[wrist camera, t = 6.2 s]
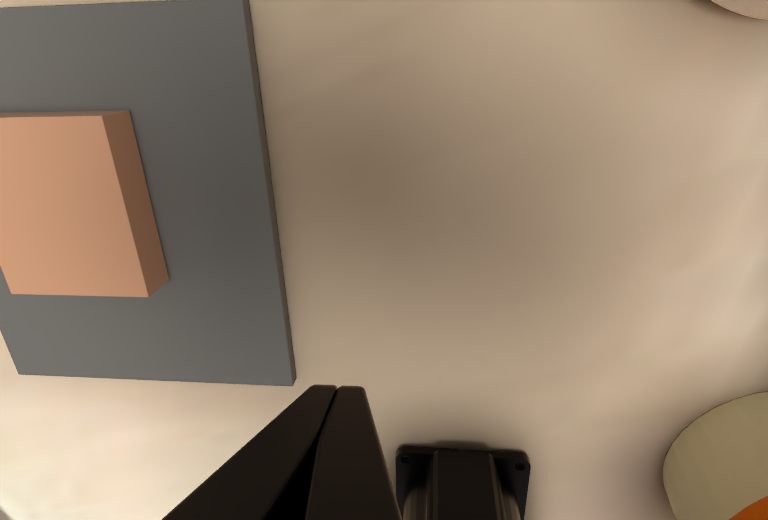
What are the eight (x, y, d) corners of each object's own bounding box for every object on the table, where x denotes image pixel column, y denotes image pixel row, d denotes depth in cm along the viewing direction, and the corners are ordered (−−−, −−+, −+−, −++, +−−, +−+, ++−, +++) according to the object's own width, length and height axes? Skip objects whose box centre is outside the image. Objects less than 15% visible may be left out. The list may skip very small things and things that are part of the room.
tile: (148, 297, 19) (11, 293, 20) (169, 279, 21) (41, 276, 21) (101, 115, 16) (-58, 118, 17) (130, 109, 18) (-17, 112, 18)
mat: (296, 378, 23) (292, 386, 22) (28, 366, 24) (18, 374, 24) (248, -1, 16) (241, -3, 16) (-115, 14, 18) (-132, 13, 17)
